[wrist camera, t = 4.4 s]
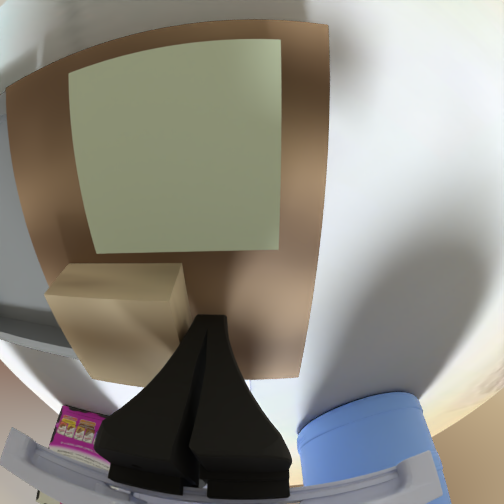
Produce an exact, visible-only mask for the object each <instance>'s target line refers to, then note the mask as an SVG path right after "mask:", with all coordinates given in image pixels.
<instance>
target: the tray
mask: <svg viewBox="0 0 504 504" xmlns="http://www.w3.org/2000/svg"><path fill="white" fill-rule="evenodd" d="M48 288H49V285H48V283H47V281H46V278H45V276H44V274H43V271H42V269H41V266H40V263H39V261H38V258H37V255H36V253H35V250H34V247H33V244H32V241H31V238H30V235H29V232H28V229H27V225H26V222H25V218H24V215H23V211H22V208H21V204H20V200H19V195H18V191H17V187H16V182H15V177H14V172H13V166H12V160H11V153H10V146H9V138H8V128H7V114H6V91H5V92H4V93H2V94H0V339H1V340H5V341H8V342H11V343H14V344H18V345H21V346H24V347H28V348H32V349H35V350H39V351H43V352H47V353H52V354H56V355H60V356H65V357H70V358H75V359H79V358H78V357H77V355H76V353H75V352H74V350H73V349H72V347H71V345H70V344H69V342H68V340H67V338H66V337H65V335H64V333H63V331H62V330H61V328H60V326H59V324H58V322H57V320H56V318H55V316H54V314H53V312H52V310H51V308H50V306H49V304H48V302H47V300H46V298H45V296H44V293H45V292H46V291H47V290H48Z"/></svg>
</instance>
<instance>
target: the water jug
mask: <svg viewBox="0 0 504 504" xmlns="http://www.w3.org/2000/svg"><path fill="white" fill-rule="evenodd" d="M297 448H298V452H299V454H300V458H301V466H302V475H303V484H304V486H311V485H318V484H324V483H330V482H335V481H340V480H345V479H350V478H354V477H358V476H362V475H366V474H370V473H374V472H377V471H381V470H384V469H387V468H391V467H394V466H397V464H399V463H400V462H401V461H403V460H405V459H407V458H410V457H413V456H415V455H418V454H420V453H423V452H425V451H428V450H429V451H431V454H432V458H433V461H434V464H435V467H436V470H437V474H438V477H439V481H440V484H441V488H442V492H443V495H442V496H440V497H438V498H436V499H434V500H432V501H430V502H428V503H426V504H451V500H450V496H449V493H448V489H447V485H446V481H445V478H444V474H443V471H442V469H443V467H442V463H441V460H440V457H439V455H438V452H437V451H436V449H435V446H434V443H433V440H432V438H431V435H430V432H429V429H428V426H427V424H426V421H425V419H424V416H423V410H422V407H421V405H420V402H419V400H418V399H417V397H416V396H414V395H412V394H410V393H406V392H390V393H383V394H378V395H374V396H370V397H366V398H363V399H360V400H356V401H353V402H351V403H348V404H345V405H343V406H340V407H338V408H335V409H333V410H331V411H329V412H327V413H325V414H323V415H321V416H319V417H317V418H316V419H314V420H313V421H311V422H310V423H309V424H307V425H306V426H305V427H304V428H303V429H302V430H301V432H300V433H299V435H298V438H297Z"/></svg>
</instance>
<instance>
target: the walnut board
mask: <svg viewBox="0 0 504 504" xmlns="http://www.w3.org/2000/svg"><path fill="white" fill-rule="evenodd" d="M233 39H278V40H281V186H280V223H279V250H238V251H192V252H148V253H105V254H96V250H95V247H94V243H93V240H92V236H91V233H90V229H89V225H88V221H87V217H86V213H85V208H84V204H83V199H82V194H81V189H80V184H79V179H78V173H77V167H76V161H75V154H74V147H73V139H72V129H71V119H70V104H69V73H71V72H73V71H76V70H79V69H82V68H84V67H87V66H90V65H93V64H96V63H100V62H103V61H106V60H109V59H113V58H117V57H120V56H124V55H128V54H132V53H136V52H141V51H145V50H150V49H155V48H161V47H166V46H172V45H179V44H186V43H194V42H204V41H216V40H233ZM329 100H330V61H329V29H328V25H325V24H317V23H309V22H299V21H286V20H258V19H251V20H222V21H209V22H199V23H191V24H184V25H177V26H171V27H165V28H160V29H155V30H150V31H145V32H141V33H137V34H133V35H129V36H125V37H122V38H118V39H115V40H111V41H108V42H105V43H102V44H99V45H96V46H93V47H90V48H87V49H85V50H82V51H79V52H77V53H74V54H72V55H69V56H67V57H65V58H62V59H60V60H58V61H55V62H53V63H51V64H49V65H47V66H45V67H43V68H41V69H39V70H37V71H35V72H33V73H31V74H29V75H27V76H25V77H24V78H22V79H20V80H18V81H17V82H15V83H13V84H11V85H10V86H8V87H7V88H6V114H7V128H8V138H9V146H10V153H11V160H12V166H13V172H14V177H15V182H16V187H17V191H18V195H19V200H20V204H21V208H22V211H23V215H24V218H25V222H26V225H27V229H28V232H29V235H30V238H31V241H32V244H33V247H34V250H35V253H36V255H37V258H38V261H39V263H40V266H41V269H42V271H43V274H44V276H45V278H46V281H47V283H48V285H49V287H50V286H51V285H52V283H53V282H54V281H55V280H56V278H57V277H58V276H59V275H60V273H61V272H62V271H63V270H64V269H65V267H66V266H67V265H68V264H69V263H182V266H183V272H184V278H185V284H186V290H187V295H188V301H189V306H190V311H191V317H192V322H193V320H194V318H195V316H196V315H197V314H210V315H226V316H227V323H228V334H229V340H230V344H231V347H232V351H233V354H234V357H235V359H236V362H237V364H238V367H239V369H240V372H241V374H242V376H243V378H244V380H256V379H280V378H295V377H299V372H300V367H301V362H302V357H303V352H304V346H305V341H306V335H307V329H308V324H309V318H310V311H311V305H312V299H313V292H314V285H315V278H316V271H317V263H318V255H319V247H320V238H321V229H322V219H323V209H324V197H325V185H326V171H327V155H328V135H329Z"/></svg>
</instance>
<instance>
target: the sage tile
mask: <svg viewBox="0 0 504 504" xmlns="http://www.w3.org/2000/svg"><path fill="white" fill-rule="evenodd" d="M69 104H70V119H71V129H72V139H73V147H74V154H75V161H76V167H77V173H78V179H79V184H80V189H81V194H82V199H83V204H84V208H85V213H86V217H87V221H88V225H89V229H90V233H91V236H92V240H93V243H94V247H95V250H96V254H105V253H148V252H192V251H238V250H279V223H280V186H281V40H278V39H233V40H216V41H204V42H194V43H186V44H179V45H172V46H166V47H161V48H155V49H150V50H145V51H141V52H136V53H132V54H128V55H124V56H120V57H117V58H113V59H109V60H106V61H103V62H100V63H96V64H93V65H90V66H87V67H84V68H82V69H79V70H76V71H73V72H71V73H69Z"/></svg>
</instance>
